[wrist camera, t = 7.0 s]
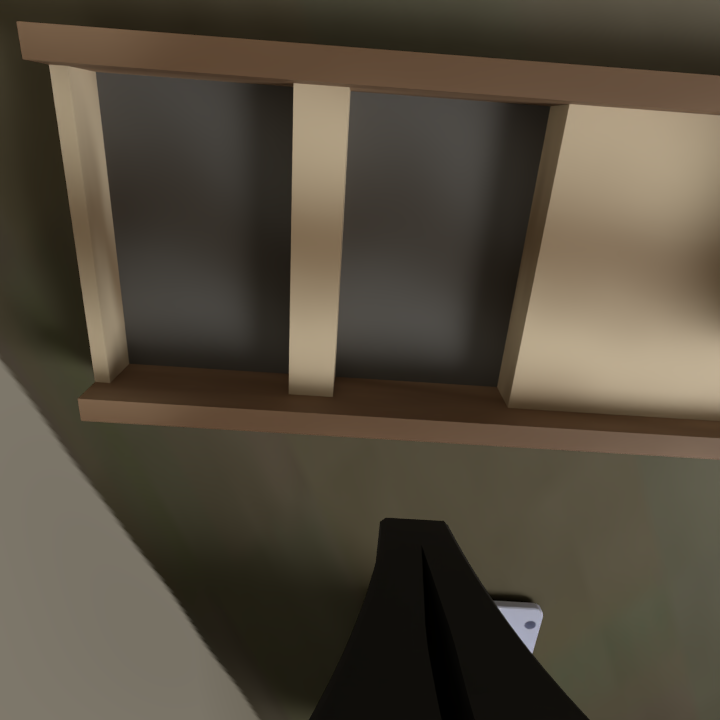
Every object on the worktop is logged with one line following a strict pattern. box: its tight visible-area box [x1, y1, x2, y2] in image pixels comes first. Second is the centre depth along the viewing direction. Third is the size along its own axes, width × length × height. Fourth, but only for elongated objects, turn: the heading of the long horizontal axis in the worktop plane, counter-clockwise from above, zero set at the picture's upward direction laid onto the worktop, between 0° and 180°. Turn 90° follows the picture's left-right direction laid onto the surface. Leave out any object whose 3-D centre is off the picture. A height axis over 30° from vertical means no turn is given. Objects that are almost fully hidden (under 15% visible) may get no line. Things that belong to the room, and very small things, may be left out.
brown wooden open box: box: [16, 21, 720, 460], centre depth 16 cm, size 11×30×4 cm, turn 86°
